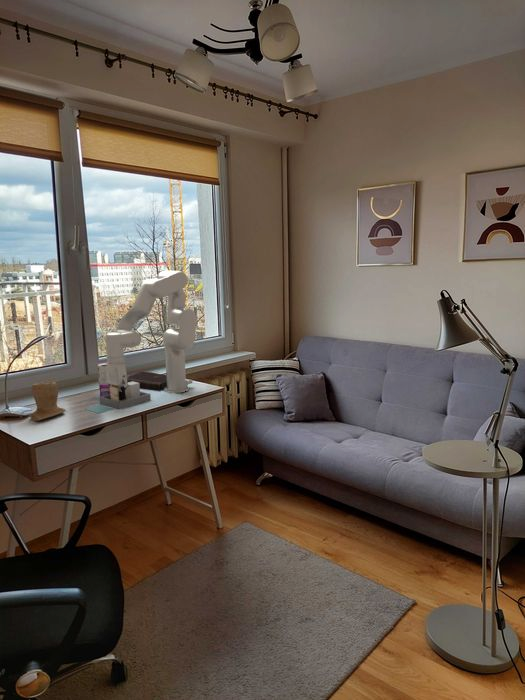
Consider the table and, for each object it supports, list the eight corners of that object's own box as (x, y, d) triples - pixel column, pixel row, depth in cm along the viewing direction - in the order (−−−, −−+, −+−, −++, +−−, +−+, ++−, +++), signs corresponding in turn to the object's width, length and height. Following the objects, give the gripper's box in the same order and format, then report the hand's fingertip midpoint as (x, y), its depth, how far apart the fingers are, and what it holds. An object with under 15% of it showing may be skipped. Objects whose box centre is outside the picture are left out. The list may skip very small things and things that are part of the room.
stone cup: (51, 409, 223) (48, 377, 220) (69, 413, 217) (67, 380, 214) (21, 419, 209) (17, 385, 207) (40, 424, 204) (36, 388, 201)
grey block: (133, 397, 239) (132, 381, 237) (140, 399, 236) (139, 383, 234) (124, 400, 235) (123, 383, 233) (131, 401, 232) (130, 385, 230)
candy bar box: (122, 393, 248) (120, 361, 245) (124, 396, 243) (121, 363, 240) (99, 395, 244) (96, 363, 241) (100, 398, 239) (97, 365, 236)
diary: (159, 393, 250) (158, 383, 249) (120, 388, 261) (119, 378, 260) (180, 384, 267) (180, 375, 266) (142, 379, 277) (142, 370, 276)
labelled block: (120, 400, 233) (118, 383, 231) (126, 402, 230) (125, 385, 228) (111, 403, 229) (109, 385, 227) (117, 405, 226) (116, 387, 224)
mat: (100, 406, 227) (100, 404, 227) (114, 410, 221) (114, 408, 221) (85, 410, 221) (85, 409, 221) (98, 414, 215) (98, 413, 215)
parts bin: (131, 395, 243) (130, 388, 243) (150, 401, 235) (150, 393, 234) (100, 404, 230) (99, 397, 229) (119, 410, 221) (119, 402, 220)
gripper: (97, 359, 227) (100, 397, 231) (120, 363, 217) (123, 403, 221) (111, 356, 233) (114, 393, 237) (134, 360, 223) (137, 399, 226)
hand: (118, 398), depth 229 cm, fingers closed on labelled block, 5 cm apart
